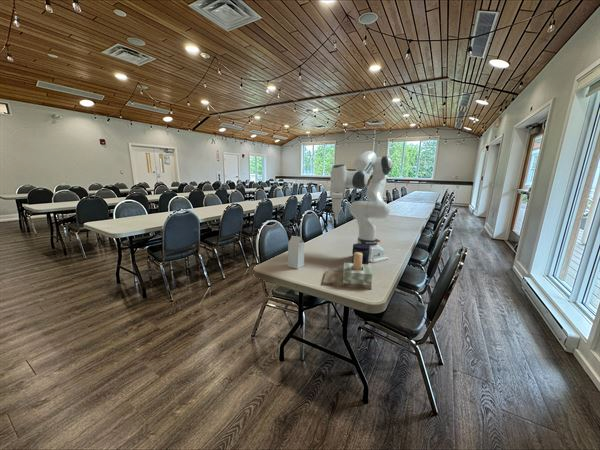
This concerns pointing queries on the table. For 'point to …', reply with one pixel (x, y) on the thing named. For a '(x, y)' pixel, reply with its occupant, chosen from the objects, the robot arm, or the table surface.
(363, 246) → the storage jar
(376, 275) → the table surface
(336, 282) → the socket board
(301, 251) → the milk carton
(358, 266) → the peg
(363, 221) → the robot arm
